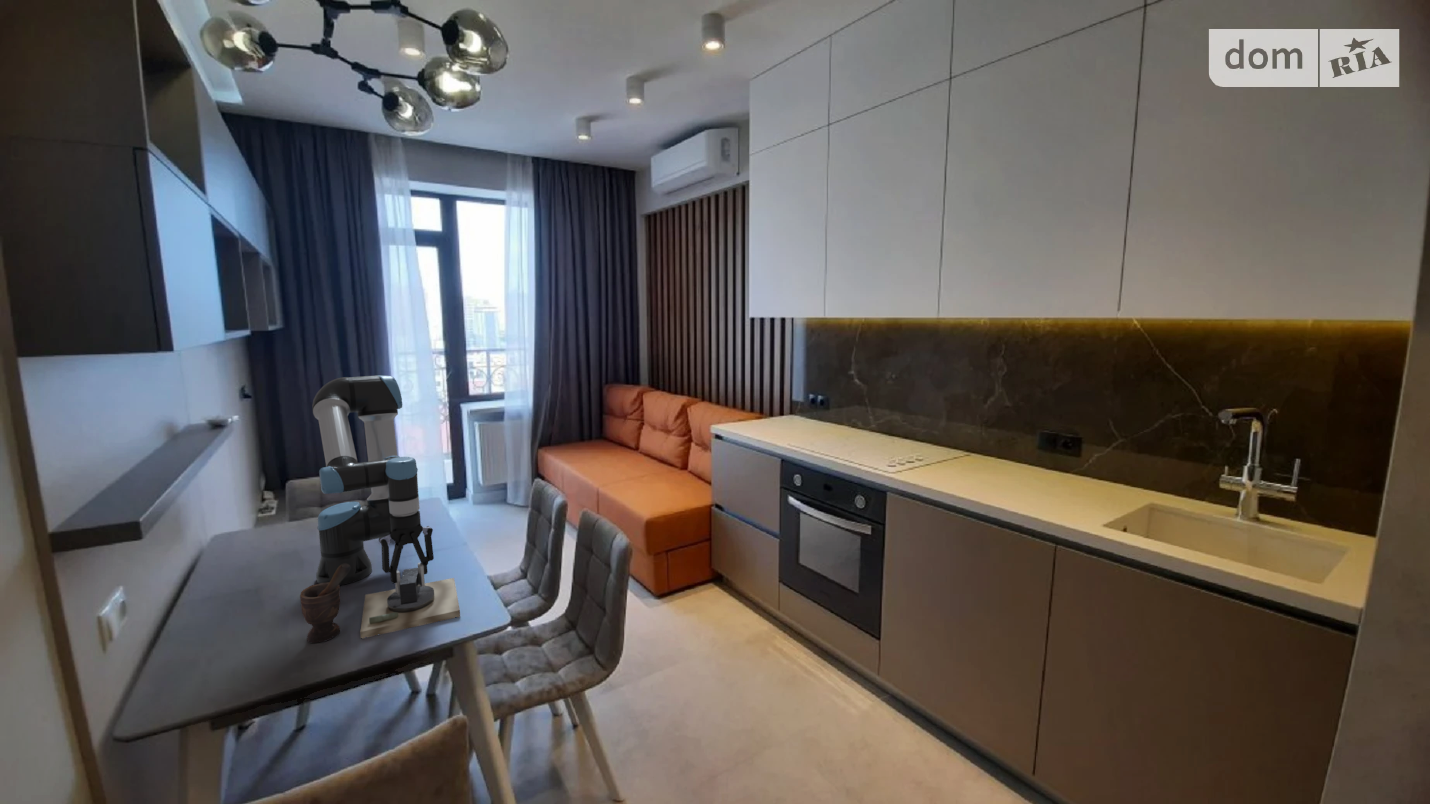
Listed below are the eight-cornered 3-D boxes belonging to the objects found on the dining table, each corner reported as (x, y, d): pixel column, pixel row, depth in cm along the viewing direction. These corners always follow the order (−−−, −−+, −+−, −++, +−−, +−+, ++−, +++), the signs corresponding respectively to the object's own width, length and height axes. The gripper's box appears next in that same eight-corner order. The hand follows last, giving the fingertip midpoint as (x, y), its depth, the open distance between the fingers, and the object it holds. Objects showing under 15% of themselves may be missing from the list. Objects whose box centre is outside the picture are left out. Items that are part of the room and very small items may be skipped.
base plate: (360, 638, 148) (359, 626, 147) (366, 601, 167) (365, 589, 166) (460, 616, 159) (459, 604, 158) (454, 583, 178) (453, 573, 178)
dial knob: (432, 607, 159) (431, 581, 158) (384, 615, 155) (382, 588, 154) (436, 585, 172) (434, 561, 171) (391, 592, 168) (389, 567, 166)
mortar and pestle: (358, 621, 156) (352, 553, 153) (355, 636, 149) (349, 566, 145) (307, 631, 150) (300, 561, 147) (302, 648, 143) (294, 575, 140)
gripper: (434, 501, 167) (439, 574, 171) (363, 516, 154) (370, 594, 158) (443, 507, 162) (448, 582, 166) (371, 523, 149) (378, 604, 153)
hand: (410, 588), depth 162 cm, fingers closed on dial knob, 5 cm apart
